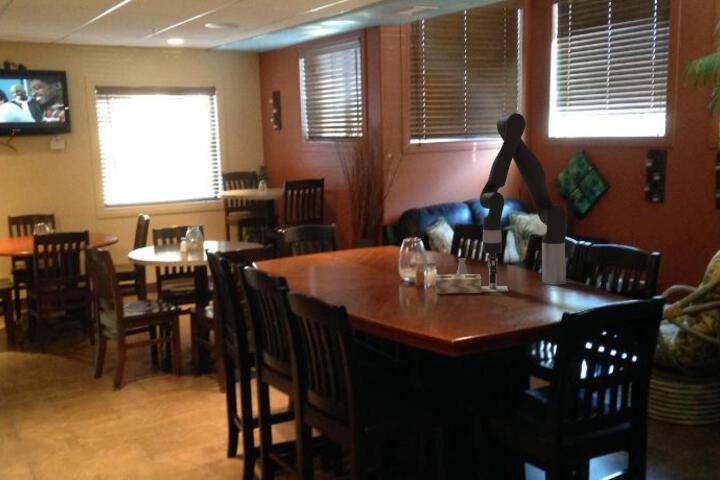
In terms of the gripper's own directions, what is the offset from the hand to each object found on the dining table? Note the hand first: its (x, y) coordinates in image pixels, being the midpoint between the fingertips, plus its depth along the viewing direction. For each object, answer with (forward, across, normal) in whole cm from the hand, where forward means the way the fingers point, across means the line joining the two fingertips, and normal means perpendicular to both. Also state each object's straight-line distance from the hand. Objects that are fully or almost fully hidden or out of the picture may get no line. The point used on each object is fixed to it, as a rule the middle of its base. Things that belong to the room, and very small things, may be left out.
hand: (492, 282), depth 293 cm
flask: (+3, +18, +12) cm, 22 cm away
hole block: (+3, -2, +14) cm, 14 cm away
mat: (+3, 0, 0) cm, 3 cm away
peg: (+3, 0, 0) cm, 3 cm away
